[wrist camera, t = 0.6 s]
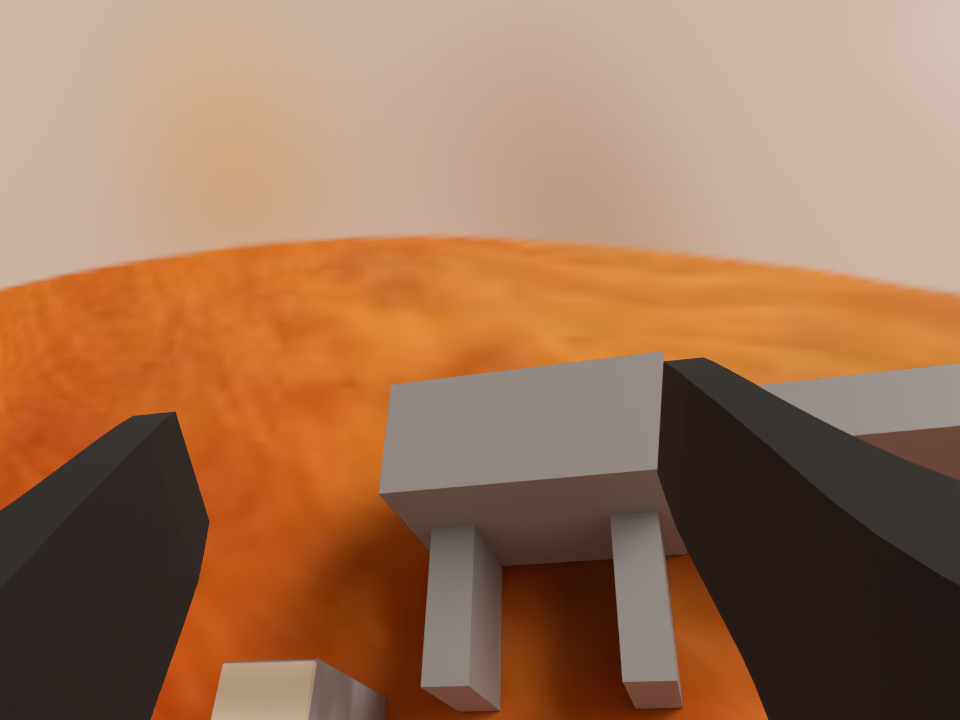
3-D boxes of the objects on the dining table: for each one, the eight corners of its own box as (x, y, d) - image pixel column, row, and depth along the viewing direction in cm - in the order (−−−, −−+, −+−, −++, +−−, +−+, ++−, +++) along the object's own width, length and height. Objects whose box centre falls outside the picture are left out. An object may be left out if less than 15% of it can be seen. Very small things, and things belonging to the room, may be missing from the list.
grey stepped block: (1234, 698, 21) (1423, 629, 15) (437, 712, 26) (359, 664, 20) (1091, 415, 26) (1192, 286, 20) (450, 474, 31) (390, 384, 25)
